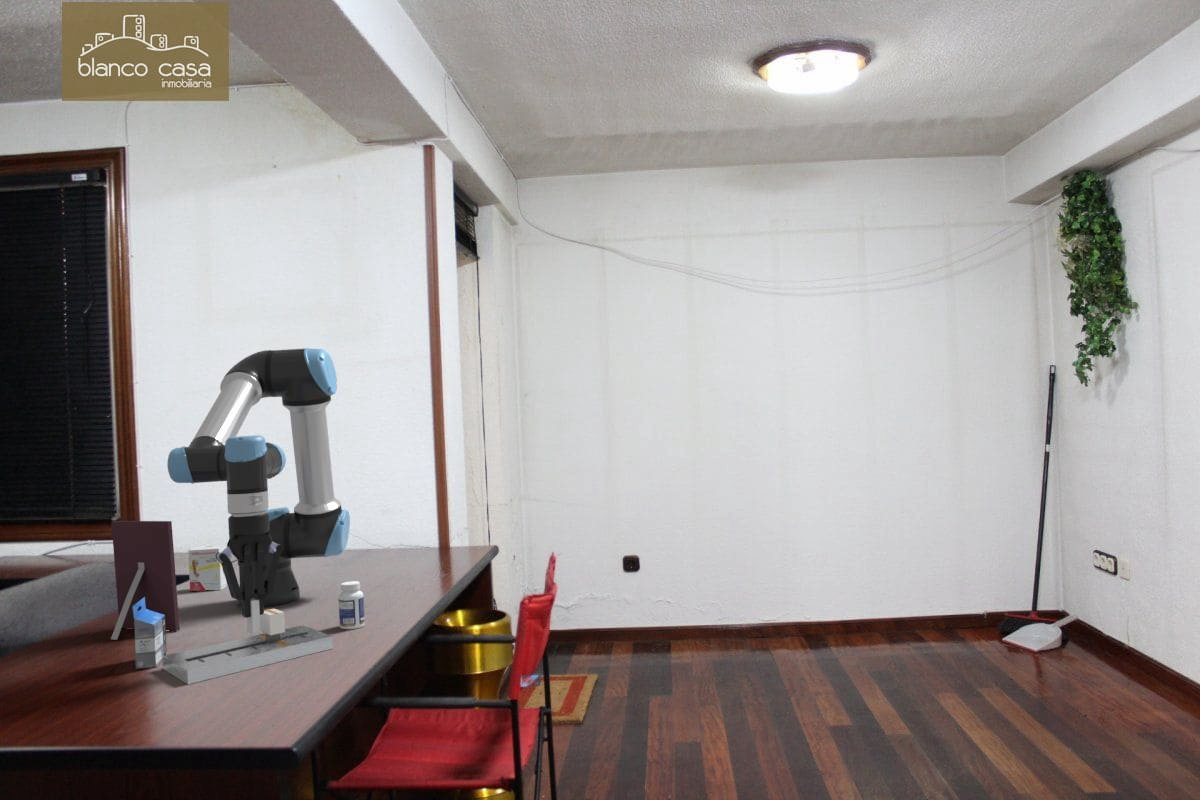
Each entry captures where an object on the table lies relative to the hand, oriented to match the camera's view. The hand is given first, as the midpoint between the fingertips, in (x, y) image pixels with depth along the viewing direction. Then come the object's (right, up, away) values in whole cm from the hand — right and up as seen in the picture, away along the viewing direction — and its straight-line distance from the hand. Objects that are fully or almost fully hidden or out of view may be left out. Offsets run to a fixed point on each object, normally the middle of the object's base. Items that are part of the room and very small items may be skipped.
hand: (254, 632), depth 172 cm
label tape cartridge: (-20, -6, 0) cm, 21 cm away
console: (0, -5, -1) cm, 5 cm away
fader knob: (+3, -5, +3) cm, 6 cm away
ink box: (-40, -7, +69) cm, 80 cm away
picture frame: (-36, -7, +22) cm, 43 cm away
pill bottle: (+14, -5, +21) cm, 25 cm away
